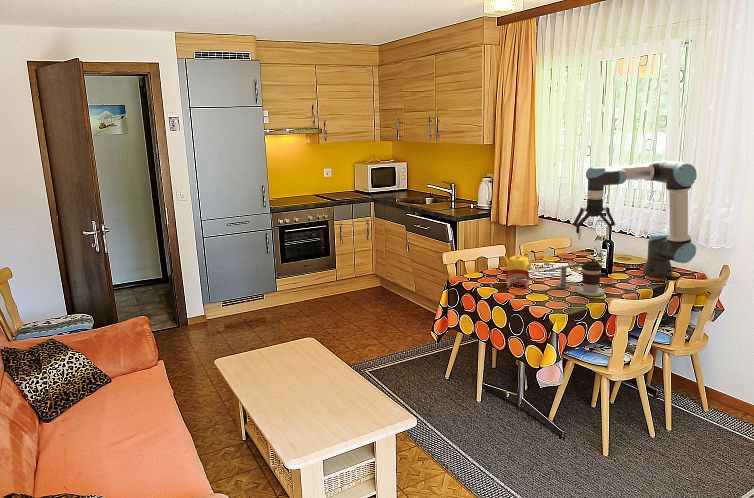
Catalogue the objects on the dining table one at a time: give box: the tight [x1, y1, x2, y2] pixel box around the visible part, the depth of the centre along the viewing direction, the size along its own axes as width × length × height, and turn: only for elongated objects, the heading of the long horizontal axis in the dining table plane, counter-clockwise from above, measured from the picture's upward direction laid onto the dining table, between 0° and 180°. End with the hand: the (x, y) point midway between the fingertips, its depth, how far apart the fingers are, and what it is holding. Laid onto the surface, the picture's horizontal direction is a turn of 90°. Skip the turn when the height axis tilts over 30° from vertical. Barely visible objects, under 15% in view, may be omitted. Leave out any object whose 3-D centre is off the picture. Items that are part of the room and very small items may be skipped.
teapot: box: [502, 253, 535, 272], centre depth 332 cm, size 15×14×10 cm
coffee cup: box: [581, 260, 603, 292], centre depth 289 cm, size 10×10×15 cm
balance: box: [543, 261, 583, 289], centre depth 301 cm, size 21×6×13 cm, turn 82°
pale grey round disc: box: [575, 286, 606, 297], centre depth 291 cm, size 14×14×1 cm
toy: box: [505, 269, 530, 290], centre depth 307 cm, size 12×10×8 cm
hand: (593, 239), depth 284 cm, fingers open, 13 cm apart
